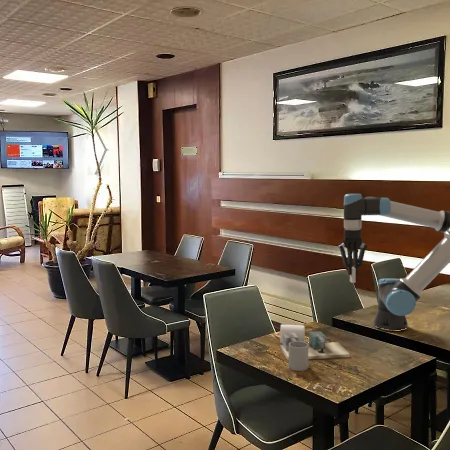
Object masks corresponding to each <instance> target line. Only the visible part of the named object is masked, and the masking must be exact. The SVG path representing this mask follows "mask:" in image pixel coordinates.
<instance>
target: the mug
mask: <svg viewBox="0 0 450 450" xmlns="http://www.w3.org/2000/svg"><path fill="white" fill-rule="evenodd" d="M279 331H280V332H279V336H280V337H279V339H280V340H279V341H280V345H283V333H295V334H296V335H297V336H298V341H302V342H306V341H305V339H306V338H305V337H306V328H305V325H302V324H301V325H300V324H297V325H296V324H280V330H279Z"/></svg>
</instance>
